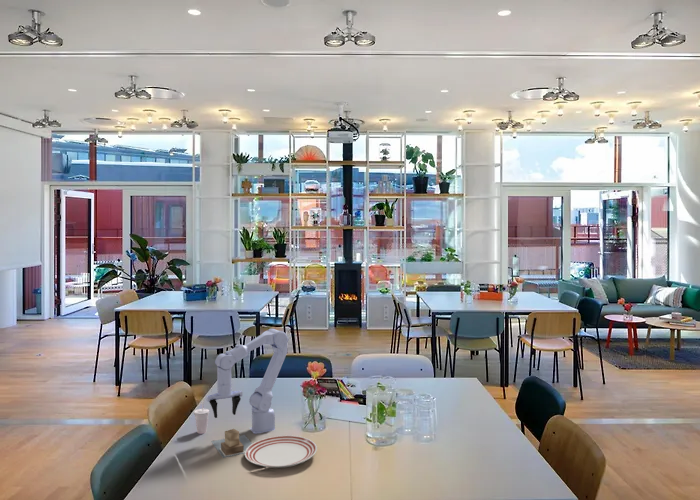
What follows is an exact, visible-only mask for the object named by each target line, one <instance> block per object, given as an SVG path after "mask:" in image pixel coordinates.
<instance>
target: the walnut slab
mask: <svg viewBox="0 0 700 500" xmlns="http://www.w3.org/2000/svg"><path fill="white" fill-rule="evenodd" d="M221 450H222V451H223V452H224V454H225V455H231V454H236V453H241V452H244V445H243V444H242V443H241V442H240V441H239V444H238V445H235V446H232V447H229V446H228V445H226V444H225V442H222V443H221Z"/></svg>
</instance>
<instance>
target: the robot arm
mask: <svg viewBox="0 0 700 500" xmlns="http://www.w3.org/2000/svg"><path fill="white" fill-rule="evenodd" d="M288 343H289V337H288V335H287V333H286V332H284V331H283V330H278V329H276V328H269V329H267V330H265V331H263V332H262V333H261V334H260V335H258V336H256V337H254V339H252V340H250V341H249V342H247V343H245V344H244V345H243V344H235V347H233V348H232V349H230V350H225V353H219V354H218V355H217V356H216V357H215V360H214V364H215V366H216V369H217V372H216V374H217V375H216V376H217V377H216V378H217V380H216V381H217V382H216V383H217V393H212V394H209V395H206V401H207V402H209V404H210V407H211V409H212V412H213V416H214V418H215V419H217V418H218V400H224V399H229V398H230V399H231V403H232V414H233V415H234V416H235V415H236V413H237V409H238V406H239V404H240V402H241V397H243V390H232V389H233V388H232V385H233V383H232V381H233V380H232V368H233V366H234V365H235V364H236V363H238V362H240V361H242V359H245V358H247V357H248V355H249V353H250V352H251V351H254V350H256V349H257V348H259V347H261V346H263V345H270V346H271V348H272V350H273V354H272V355H271V356H272V357H271V358H270V361H269V364H268V365H267V368H266V371H265V373H264V374H263V375H264V376H263V377H262V379H261V382H260V385H259V386H257V387H256V388H255V389H254V391H253V393H252V394H251V395H250V396H249V399H248V402H249V405H250V406H251V427H249V428H248V429H250V431H251V432H252V433H253V434H255V435H257V434H262V433H263V434H264V433H266V432H273V431H276V427H275V426H276V425H275V424H276V417H275V416H276V415H275V411H274V409H273V408H271V407H272V399H273V397H274V396H273V392H272V391H273V388H274V387H275V386H274V385H275V383H276V380H277V378H278V376H279V373H280V371H281V369H282V366H283V363H284V362H285V359H286V358H287V357H286V356H287V355H288Z"/></svg>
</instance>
